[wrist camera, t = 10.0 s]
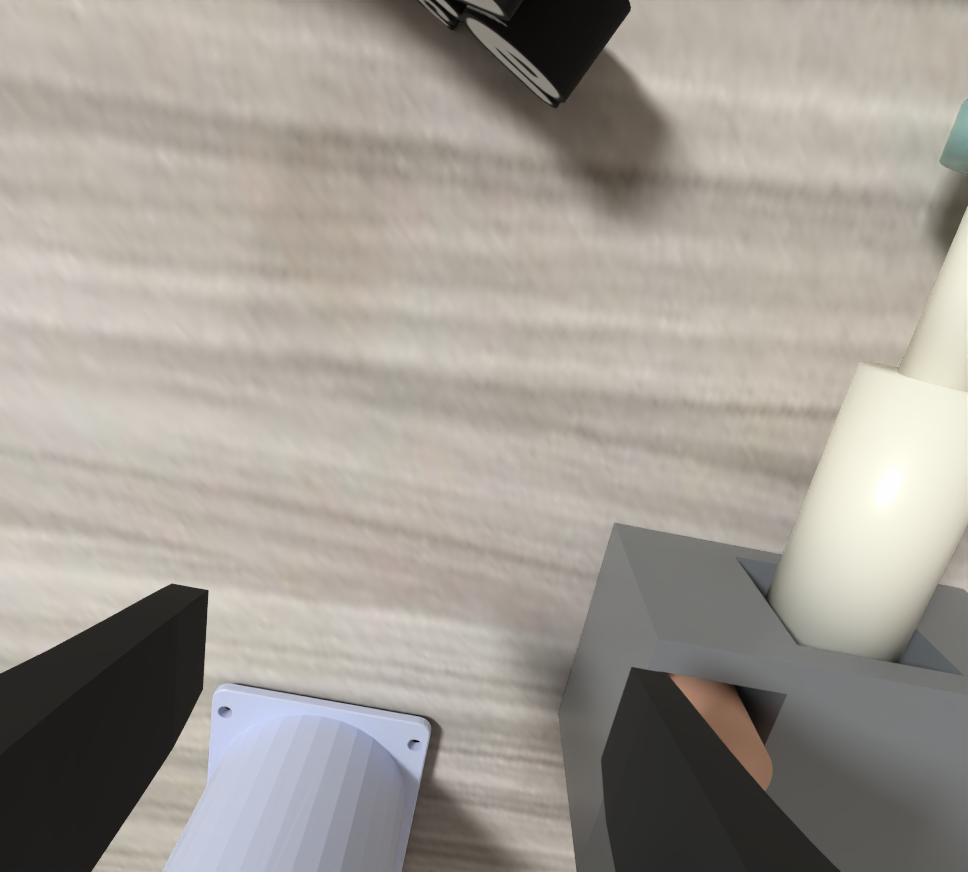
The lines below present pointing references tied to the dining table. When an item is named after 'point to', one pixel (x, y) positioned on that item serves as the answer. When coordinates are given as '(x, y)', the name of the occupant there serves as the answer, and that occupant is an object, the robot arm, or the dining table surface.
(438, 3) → the logo
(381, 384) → the dining table surface
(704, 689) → the plunger
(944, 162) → the push handle
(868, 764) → the housing
